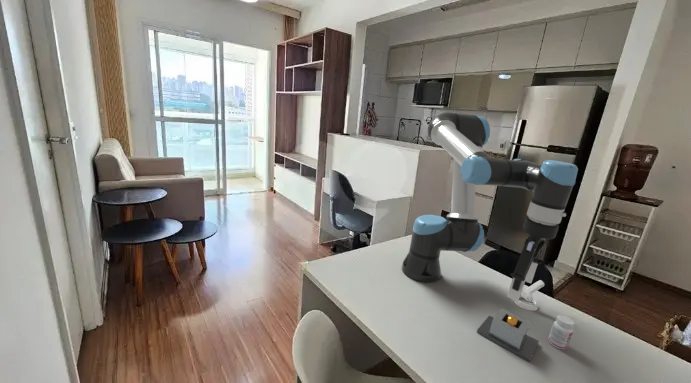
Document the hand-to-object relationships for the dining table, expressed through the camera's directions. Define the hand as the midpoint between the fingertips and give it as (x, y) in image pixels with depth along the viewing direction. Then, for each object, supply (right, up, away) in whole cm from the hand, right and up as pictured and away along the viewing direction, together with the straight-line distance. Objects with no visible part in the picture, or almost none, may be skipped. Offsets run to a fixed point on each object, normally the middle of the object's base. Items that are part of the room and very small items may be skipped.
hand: (519, 289), depth 83 cm
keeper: (-2, -15, +4) cm, 16 cm away
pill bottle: (+13, -17, +4) cm, 22 cm away
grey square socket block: (-2, -15, +3) cm, 15 cm away
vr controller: (+15, -13, +22) cm, 30 cm away
